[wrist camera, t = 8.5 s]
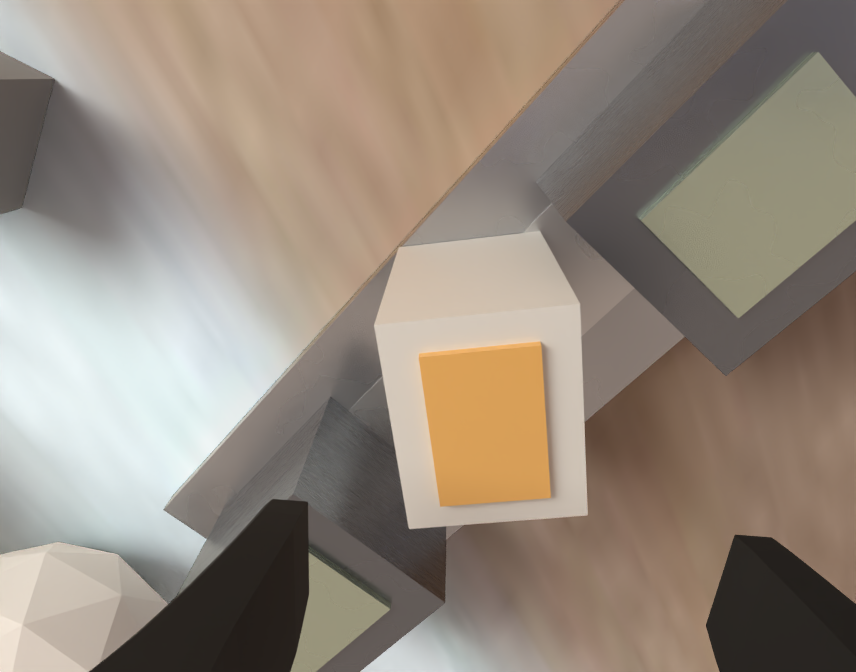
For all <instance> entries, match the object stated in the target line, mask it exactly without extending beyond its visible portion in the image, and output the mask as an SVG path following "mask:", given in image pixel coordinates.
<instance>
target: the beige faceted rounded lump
mask: <svg viewBox="0 0 856 672" xmlns="http://www.w3.org/2000/svg"><path fill="white" fill-rule="evenodd" d="M167 605H168V603H167V602H166V601H165V600H164V599H163V598H162V597H161V596H160V595H159V594H158V593H157V592H156V591H155V590H154V589H153V588H151V587H150V586H149V585H148V584H147V583H146V582H145V581H144V580H143V579H142V578H141V577H140V576H139V575H138V574H137V573H136V572H135V571H134V570H133V569H132V568H131V567H130V566H129V565H128V564H127V563H126V562H125V561H124V560H123V559H122V558H121V557H120V556H119V555H118V554H114V553H109V552H105V551H100V550H95V549H90V548H86V547H81V546H76V545H71V544H66V543H62V542H55V543H51V544H46V545H41V546H37V547H32V548H27V549H23V550H18V551H13V552H9V553H4V554H0V672H89V671H90V670H92V669H93V668H94V667H95V666H97V665H98V664H99V663H100V662H102V661H103V660H104V659H106V658H107V657H108V656H109V655H110V654H112V653H113V652H114V651H115V650H117V649H118V648H119V647H120V646H121V645H123V644H124V643H125V642H126V641H127V640H129V639H130V638H131V637H132V636H133V635H134V634H136V633H137V632H138V631H139V630H140V629H141V628H143V627H144V626H145V625H146V624H147V623H148V622H149V621H150V620H151V619H153V618H154V617H155V616H156V615H157V614H158V613H159V612H160V611H161V610H162V609H164V608H165V607H166V606H167Z"/></svg>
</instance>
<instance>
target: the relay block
mask: <svg viewBox="0 0 856 672" xmlns="http://www.w3.org/2000/svg"><path fill="white" fill-rule="evenodd" d="M53 83H54V78H52V77H50V76H48V75H46V74H44V73H42V72H40V71H38V70H36V69H34V68H32V67H30V66H28V65H26V64H24V63H22V62H20V61H18V60H16V59H14V58H12V57H10V56H8V55H6V54H4V53H3V52H1V51H0V214H3V213H6V212H9V211H13V210H16V209H19V208H22V206H23V202H24V198H25V194H26V190H27V186H28V182H29V178H30V174H31V170H32V166H33V162H34V158H35V154H36V150H37V146H38V142H39V138H40V134H41V130H42V126H43V122H44V118H45V114H46V110H47V106H48V102H49V99H50V95H51V91H52V87H53Z"/></svg>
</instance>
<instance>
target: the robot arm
mask: <svg viewBox="0 0 856 672" xmlns="http://www.w3.org/2000/svg"><path fill="white" fill-rule="evenodd" d="M308 597H309V539H308V502H307V501H294V500H281V499H272V500H270V501H269V502H268V503H267V504H265V506H264V507H263V508H262V509H261V510H260V511H259V512H258V513H257V515H256V516H255V517H254V518H253V519H252V520H251V521H250V522H249V523H248V524H247V526H246V527H245V528H244V529H243V530H242V531H241V532H240V533H239V534H238V535H237V536H236V538H235V539H234V540H233V541H232V542H231V543H230V544H229V545H228V546H227V547H226V548H225V549H224V550H223V551H222V552H221V553H220V554H219V555H218V556H217V557H216V558H215V559H214V560H213V561H212V562H211V563H210V564H209V565H208V566H207V567H206V568H205V569H204V570H203V571H202V572H201V573H200V574H199V575H198V576H197V577H196V578H195V579H194V580H193V581H192V582H191V583H190V584H189V585H188V586H187V587H186V588H185V589H184V590H183V591H182V592H181V593H180V594H179V595H178V596H177V597H176V598H175V599H173V600H172V601H171V602H170V603H169V604H168V605H167V606H166V607H165V608H164V609H162V610H161V611H160V612H159V613H158V614H157V615H156V616H155V617H154V618H153V619H151V620H150V621H149V622H148V623H147V624H146V625H145V626H144V627H143V628H141V629H140V630H139V631H138V632H137V633H136V634H134V635H133V636H132V637H131V638H130V639H129V640H127V641H126V642H125V643H124V644H123V645H121V646H120V647H119V648H118V649H117V650H115V651H114V652H113V653H112V654H110V655H109V656H108V657H107V658H106V659H104V660H103V661H102V662H100V663H99V664H98V665H97V666H95V667H94V668H93V669H92V670H90V671H89V672H290V671H291V668H292V665H293V662H294V659H295V656H296V652H297V648H298V644H299V639H300V635H301V630H302V626H303V621H304V616H305V611H306V607H307V602H308ZM706 627H707V631H708V634H709V638H710V641H711V645H712V648H713V652H714V655H715V659H716V662H717V665H718V668H719V671H720V672H856V604H855V603H854V602H852V601H851V600H850V599H849V598H848V597H846V596H845V595H844V594H843V593H841V592H840V591H839V590H838V589H836V588H835V587H834V586H833V585H832V584H830V583H829V582H828V581H827V580H825V579H824V578H823V577H822V576H820V575H819V574H818V573H817V572H816V571H814V570H813V569H812V568H811V567H809V566H808V565H807V564H806V563H804V562H803V561H802V560H801V559H799V558H798V557H797V556H795V555H794V554H793V553H792V552H790V551H789V550H788V549H786V548H785V547H784V546H782V545H781V544H780V543H778V542H777V541H776V540H774V539H773V538H770V537H758V536H745V535H735V536H734V539H733V542H732V545H731V548H730V552H729V555H728V558H727V561H726V564H725V567H724V570H723V574H722V577H721V580H720V583H719V586H718V589H717V592H716V596H715V599H714V602H713V605H712V608H711V611H710V614H709V617H708V621H707V624H706Z"/></svg>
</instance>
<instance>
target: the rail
mask: <svg viewBox="0 0 856 672" xmlns="http://www.w3.org/2000/svg"><path fill="white" fill-rule="evenodd" d="M537 231H540V232H541V234H542V235H543V237H544V239H545V241H546V243H547V244H548V246H549V248H550V250H551V252H552V253H553V255H554V257H555V259H556V261H557V263H558V264H559V266H560V268H561V270H562V272H563V273H564V275H565V277H566V279H567V281H568V283H569V284H570V286H571V288H572V290H573V292H574V293H575V295H576V297H577V299H578V301H579V303H580V314H581V342H582V370H583V398H584V422H585V421H586V420H588V419H589V418H590V417H591V416H592V415H594V414H595V413H596V412H597V411H598V410H599V409H601V408H602V407H603V406H604V405H605V404H606V403H608V402H609V401H610V400H611V399H612V398H613V397H615V396H616V395H617V394H618V393H619V392H620V391H622V390H623V389H624V388H625V387H626V386H628V385H629V384H630V383H631V382H632V381H633V380H635V379H636V378H637V377H638V376H639V375H640V374H642V373H643V372H644V371H645V370H646V369H647V368H649V367H650V366H651V365H652V364H653V363H655V362H656V361H657V360H658V359H659V358H660V357H662V356H663V355H664V354H665V353H666V352H667V351H669V350H670V349H671V348H672V347H673V346H674V345H676V344H677V343H678V342H679V341H680V340H681V339H683V338H684V337H686V338H687V339H688V340H689V341H690V342H691V343H692V344H693V345H694V346H695V347H696V348H697V349H698V350H699V351H700V352H701V353H702V354H703V355H704V356H705V357H707V358H708V359H709V360H710V361H711V362H712V363H713V364H714V365H715V366H716V367H717V368H718V369H719V370H720V371H721V372H722V373H723V374H724V375H725V376H726V375H728V374H729V373H730V372H731V371H733V370H734V369H735V368H736V367H738V366H739V365H740V364H741V363H743V362H744V361H745V360H746V359H748V358H749V357H750V356H751V355H752V354H754V353H755V352H756V351H757V350H759V349H760V348H761V347H762V346H764V345H765V344H766V343H767V342H769V341H770V340H771V339H772V338H774V337H775V336H776V335H777V334H778V333H780V332H781V331H782V330H783V329H785V328H786V327H787V326H788V325H790V324H791V323H792V322H793V321H795V320H796V319H797V318H798V317H800V316H801V315H802V314H803V313H804V312H806V311H807V310H808V309H809V308H811V307H812V306H813V305H814V304H816V303H817V302H818V301H819V300H821V299H822V298H823V297H824V296H826V295H827V294H828V293H829V292H830V291H832V290H833V289H834V288H835V287H837V286H838V285H839V284H840V283H842V282H843V281H844V280H845V279H847V278H848V277H849V276H850V275H852V274H853V273H854V272H855V271H856V0H620V1H619V2H618V4H617V5H616V6H615V7H614V8H613V9H612V10H611V11H610V12H609V13H608V15H607V16H606V17H605V18H604V19H603V20H602V21H601V22H600V23H599V25H598V26H597V27H596V28H595V29H594V30H593V31H592V32H591V33H590V34H589V36H588V37H587V38H586V39H585V40H584V41H583V42H582V43H581V44H580V46H579V47H578V48H577V49H576V50H575V51H574V52H573V53H572V54H571V56H570V57H569V58H568V59H567V60H566V61H565V62H564V63H563V64H562V65H561V67H560V68H559V69H558V70H557V71H556V72H555V73H554V74H553V75H552V77H551V78H550V79H549V80H548V81H547V82H546V83H545V84H544V85H543V86H542V88H541V89H540V90H539V91H538V92H537V93H536V94H535V95H534V96H533V98H532V99H531V100H530V101H529V102H528V103H527V104H526V105H525V106H524V108H523V109H522V110H521V111H520V112H519V113H518V114H517V115H516V116H515V117H514V119H513V120H512V121H511V122H510V123H509V124H508V125H507V126H506V127H505V129H504V130H503V131H502V132H501V133H500V134H499V135H498V136H497V137H496V138H495V140H494V141H493V142H492V143H491V144H490V145H489V146H488V147H487V148H486V150H485V151H484V152H483V153H482V154H481V155H480V156H479V157H478V158H477V160H476V161H475V162H474V163H473V164H472V165H471V166H470V167H469V168H468V169H467V171H466V172H465V173H464V174H463V175H462V176H461V177H460V178H459V179H458V181H457V182H456V183H455V184H454V185H453V186H452V187H451V188H450V189H449V190H448V192H447V193H446V194H445V195H444V196H443V197H442V198H441V199H440V200H439V202H438V203H437V204H436V205H435V206H434V207H433V208H432V209H431V210H430V212H429V213H428V214H427V215H426V216H425V217H424V218H423V219H422V220H421V221H420V223H419V224H418V225H417V226H416V227H415V228H414V229H413V230H412V231H411V233H410V234H409V235H408V236H407V237H406V238H405V239H404V240H403V241H402V242H401V244H400V245H399V246H398V247H397V248H396V249H395V250H394V251H393V252H392V254H391V255H390V256H389V257H388V258H387V259H386V260H385V261H384V262H383V264H382V265H381V266H380V267H379V268H378V269H377V270H376V271H375V272H374V273H373V275H372V276H371V277H370V278H369V279H368V280H367V281H366V282H365V283H364V285H363V286H362V287H361V288H360V289H359V290H358V291H357V292H356V293H355V294H354V296H353V297H352V298H351V299H350V300H349V301H348V302H347V303H346V304H345V306H344V307H343V308H342V309H341V310H340V311H339V312H338V313H337V314H336V316H335V317H334V318H333V319H332V320H331V321H330V322H329V323H328V324H327V325H326V327H325V328H324V329H323V330H322V331H321V332H320V333H319V334H318V335H317V337H316V338H315V339H314V340H313V341H312V342H311V343H310V344H309V345H308V346H307V348H306V349H305V350H304V351H303V352H302V353H301V354H300V355H299V356H298V358H297V359H296V360H295V361H294V362H293V363H292V364H291V365H290V366H289V368H288V369H287V370H286V371H285V372H284V373H283V374H282V375H281V376H280V377H279V379H278V380H277V381H276V382H275V383H274V384H273V385H272V386H271V387H270V389H269V390H268V391H267V392H266V393H265V394H264V395H263V396H262V397H261V398H260V400H259V401H258V402H257V403H256V404H255V405H254V406H253V407H252V408H251V410H250V411H249V412H248V413H247V414H246V415H245V416H244V417H243V418H242V420H241V421H240V422H239V423H238V424H237V425H236V426H235V427H234V428H233V429H232V431H231V432H230V433H229V434H228V435H227V436H226V437H225V438H224V439H223V441H222V442H221V443H220V444H219V445H218V446H217V447H216V448H215V449H214V450H213V452H212V453H211V454H210V455H209V456H208V457H207V458H206V459H205V460H204V462H203V463H202V464H201V465H200V466H199V467H198V468H197V469H196V470H195V472H194V473H193V474H192V475H191V476H190V477H189V478H188V479H187V480H186V481H185V483H184V484H183V485H182V486H181V487H180V488H179V489H178V490H177V491H176V493H175V494H174V495H173V496H172V497H171V499H170V500H169V502H168V503H167V505H166V506H165V508H164V509H163V510H164V511H166V512H167V513H169V514H170V515H172V516H173V517H175V518H176V519H178V520H179V521H181V522H182V523H184V524H185V525H187V526H188V527H190V528H191V529H193V530H194V531H196V532H197V533H199V534H200V535H202V536H203V537H205V538H206V539H207V540H206V542H205V544H204V545H203V547H202V549H201V551H200V553H199V555H198V557H197V559H196V560H195V562H194V564H193V566H192V568H191V570H190V572H189V574H188V576H187V577H186V579H185V581H184V583H183V585H182V587H181V589H180V591H179V593H178V594H177V596H178V595H179V594H180V593H181V592H182V591H183V590H184V589H185V588H186V587H187V586H188V585H189V584H190V583H191V582H192V581H193V580H194V579H195V578H196V577H197V576H198V575H199V574H200V573H201V572H202V571H203V570H204V569H205V568H206V567H207V566H208V565H209V564H210V563H211V562H212V561H213V560H214V559H215V558H216V557H217V556H218V555H219V554H220V553H221V552H222V551H223V550H224V549H225V548H226V547H227V546H228V545H229V544H230V543H231V542H232V541H233V540H234V539H235V538H236V536H237V535H238V534H239V533H240V532H241V531H242V530H243V529H244V528H245V527H246V526H247V524H248V523H249V522H250V521H251V520H252V519H253V518H254V517H255V516H256V515H257V513H258V512H259V511H260V510H261V509H262V508H263V507H264V506H265V504H267V503H268V502H269V501H270V500H272V499H281V500H294V501H307V502H308V539H309V597H308V602H307V607H306V611H305V616H304V621H303V626H302V630H301V635H300V639H299V644H298V648H297V652H296V656H295V659H294V662H293V665H292V668H291V671H290V672H360V671H361V670H362V669H364V668H365V667H366V666H367V665H369V664H370V663H371V662H372V661H373V660H375V659H376V658H377V657H378V656H380V655H381V654H382V653H383V652H385V651H386V650H387V649H388V648H390V647H391V646H392V645H393V644H395V643H396V642H397V641H398V640H399V639H401V638H402V637H403V636H404V635H406V634H407V633H408V632H409V631H411V630H412V629H413V628H414V627H416V626H417V625H418V624H419V623H421V622H422V621H423V620H424V619H425V618H427V617H428V616H429V615H430V614H432V613H433V612H434V611H435V610H437V609H438V608H439V607H440V606H442V605H443V604H444V603H445V577H446V540H447V539H448V538H449V537H450V536H452V535H453V534H454V533H455V532H456V531H457V530H459V529H460V528H461V527H462V526H463V525H456V526H443V527H430V528H416V529H409V527H408V521H407V515H406V509H405V504H404V498H403V492H402V486H401V480H400V474H399V468H398V463H397V457H396V451H395V445H394V439H393V433H392V427H391V422H390V416H389V410H388V404H387V398H386V392H385V386H384V380H383V375H382V369H381V363H380V357H379V351H378V345H377V339H376V334H375V328H374V324H375V321H376V317H377V314H378V311H379V308H380V305H381V302H382V298H383V295H384V292H385V289H386V286H387V283H388V280H389V276H390V273H391V270H392V267H393V264H394V261H395V257H396V254H397V251H398V248H399V247H405V246H414V245H423V244H432V243H440V242H449V241H458V240H467V239H475V238H484V237H493V236H502V235H510V234H519V233H528V232H537ZM177 596H176V597H177Z"/></svg>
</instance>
